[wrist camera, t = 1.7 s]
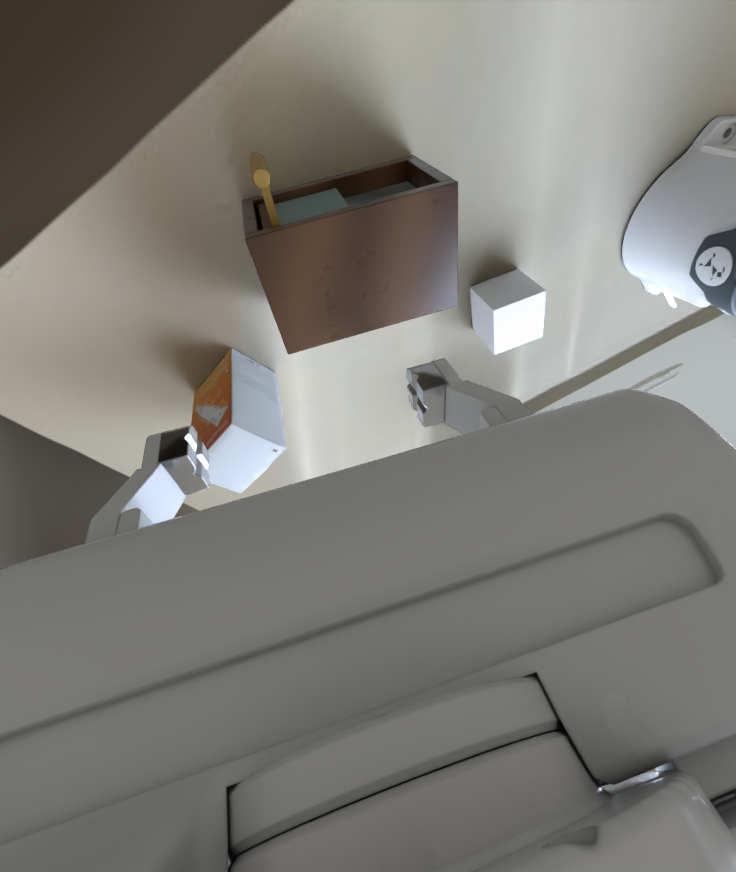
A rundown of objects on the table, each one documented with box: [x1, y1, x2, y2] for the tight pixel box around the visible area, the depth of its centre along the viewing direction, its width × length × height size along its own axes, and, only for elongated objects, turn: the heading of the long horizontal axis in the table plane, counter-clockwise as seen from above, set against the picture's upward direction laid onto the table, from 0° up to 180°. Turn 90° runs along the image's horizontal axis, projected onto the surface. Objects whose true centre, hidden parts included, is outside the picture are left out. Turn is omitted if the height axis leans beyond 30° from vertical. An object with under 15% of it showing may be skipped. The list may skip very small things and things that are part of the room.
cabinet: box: [241, 155, 458, 354], centre depth 36 cm, size 16×10×10 cm, turn 99°
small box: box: [191, 348, 287, 493], centre depth 43 cm, size 8×6×13 cm
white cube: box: [470, 269, 546, 355], centre depth 47 cm, size 6×6×6 cm
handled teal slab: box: [249, 152, 350, 230], centre depth 31 cm, size 7×4×7 cm, turn 99°
